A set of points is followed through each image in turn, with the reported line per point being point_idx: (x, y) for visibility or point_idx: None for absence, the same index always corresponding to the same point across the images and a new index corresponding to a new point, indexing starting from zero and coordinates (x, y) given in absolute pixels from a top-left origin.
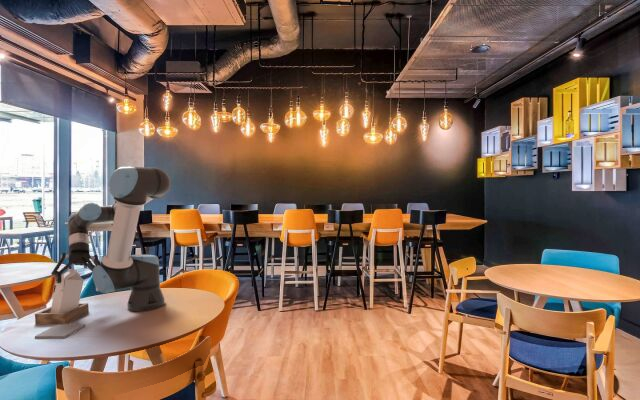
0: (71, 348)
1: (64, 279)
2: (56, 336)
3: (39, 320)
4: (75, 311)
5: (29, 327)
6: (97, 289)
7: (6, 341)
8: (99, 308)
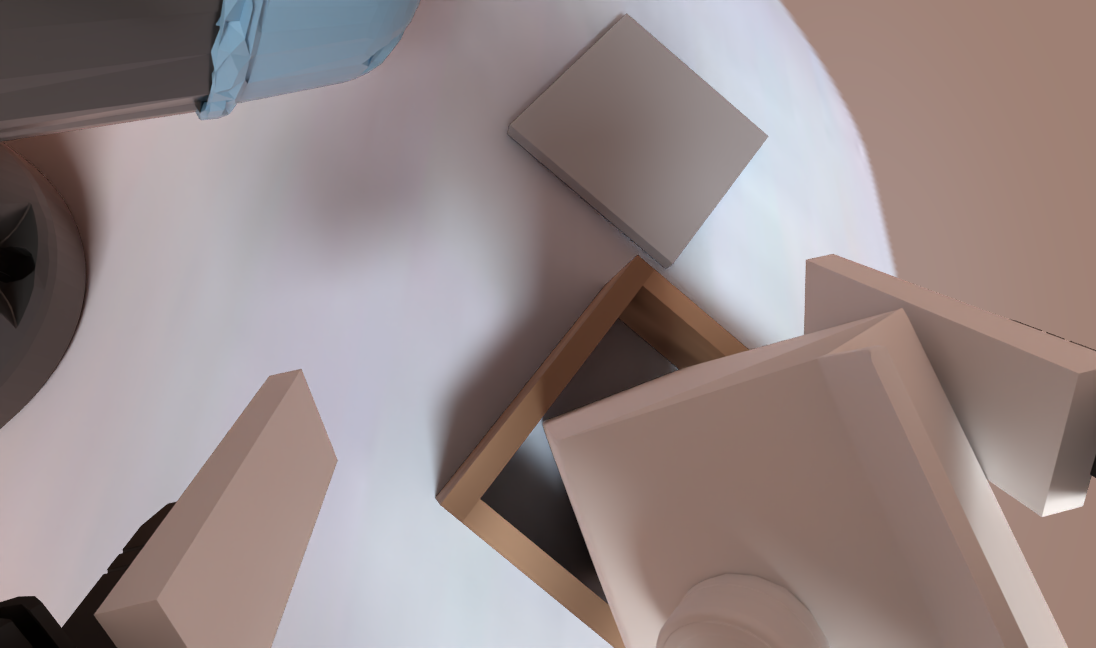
0: None
1: (929, 365)
2: (665, 49)
3: None
4: (568, 338)
5: None
6: (317, 414)
7: (877, 210)
8: (318, 577)
